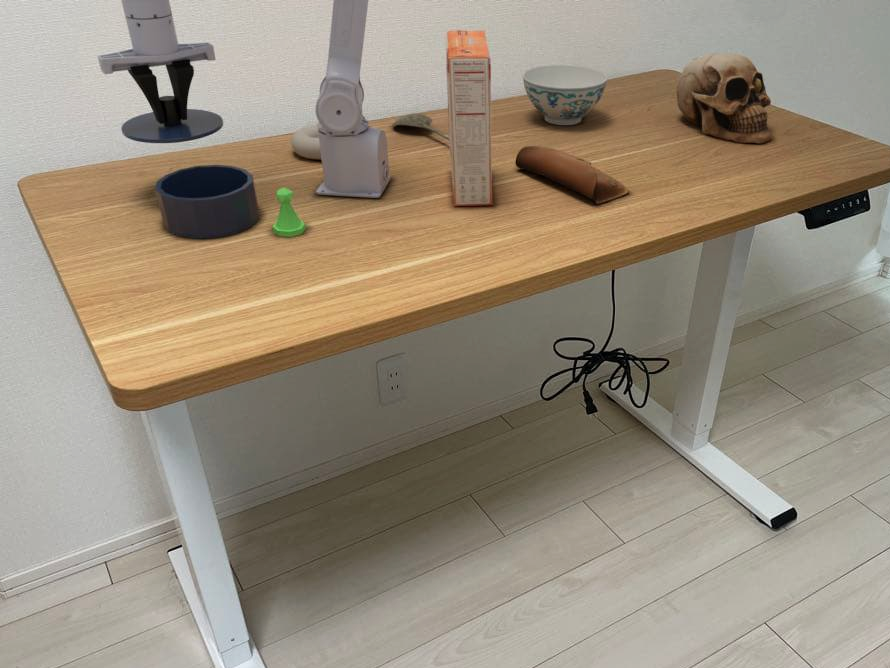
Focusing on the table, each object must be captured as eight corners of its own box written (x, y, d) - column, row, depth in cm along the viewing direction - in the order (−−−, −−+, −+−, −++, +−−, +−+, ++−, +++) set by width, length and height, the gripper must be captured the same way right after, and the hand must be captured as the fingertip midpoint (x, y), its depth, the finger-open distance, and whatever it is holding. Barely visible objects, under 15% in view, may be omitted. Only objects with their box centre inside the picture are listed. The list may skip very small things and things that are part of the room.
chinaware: (606, 134, 148) (610, 88, 144) (521, 131, 148) (522, 86, 144) (601, 107, 160) (604, 65, 156) (522, 105, 160) (523, 63, 156)
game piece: (272, 225, 115) (265, 183, 111) (304, 222, 116) (298, 180, 112) (273, 238, 112) (266, 195, 108) (307, 235, 113) (301, 192, 109)
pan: (258, 198, 122) (252, 161, 119) (259, 234, 113) (252, 195, 110) (168, 205, 120) (159, 168, 116) (161, 242, 110) (151, 203, 107)
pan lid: (225, 113, 125) (219, 81, 123) (223, 144, 115) (216, 110, 112) (128, 119, 122) (120, 86, 120) (117, 151, 112) (108, 116, 109)
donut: (282, 160, 135) (341, 165, 133) (278, 139, 133) (338, 143, 131) (307, 140, 143) (363, 144, 141) (304, 119, 141) (361, 123, 139)
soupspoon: (418, 123, 153) (387, 132, 150) (416, 104, 151) (384, 113, 148) (488, 155, 138) (454, 164, 135) (486, 134, 136) (452, 144, 133)
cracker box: (449, 171, 132) (445, 29, 120) (488, 171, 133) (487, 29, 120) (451, 207, 121) (446, 54, 109) (493, 207, 122) (492, 54, 109)
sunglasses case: (634, 189, 127) (621, 156, 121) (603, 222, 125) (589, 190, 120) (553, 155, 138) (539, 124, 132) (525, 185, 136) (509, 155, 131)
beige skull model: (771, 145, 145) (777, 62, 138) (669, 145, 149) (670, 65, 142) (772, 120, 157) (779, 44, 150) (679, 121, 162) (680, 46, 155)
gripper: (194, 3, 116) (214, 104, 124) (82, 14, 109) (110, 120, 117) (211, 13, 111) (230, 117, 119) (95, 25, 104) (123, 135, 112)
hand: (172, 119), depth 118 cm, fingers closed on pan lid, 2 cm apart
